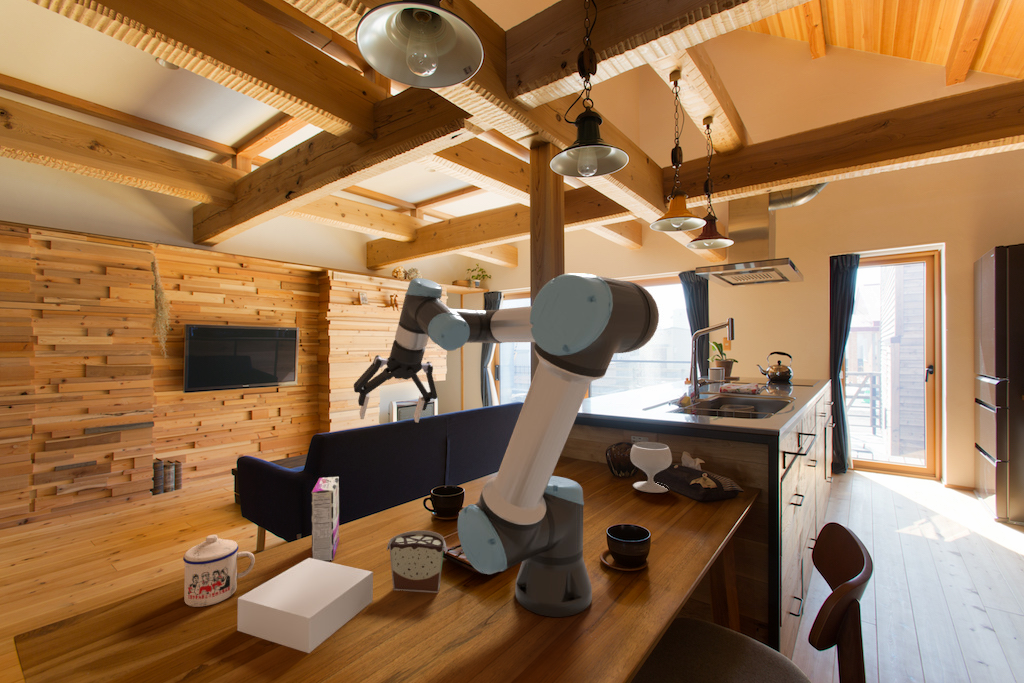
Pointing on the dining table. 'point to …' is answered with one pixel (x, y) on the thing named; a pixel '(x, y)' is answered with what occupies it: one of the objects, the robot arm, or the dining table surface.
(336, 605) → the white block
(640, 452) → the chalice
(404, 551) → the food container
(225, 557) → the teacup with lid
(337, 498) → the candy bar box
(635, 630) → the dining table surface
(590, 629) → the dining table surface
